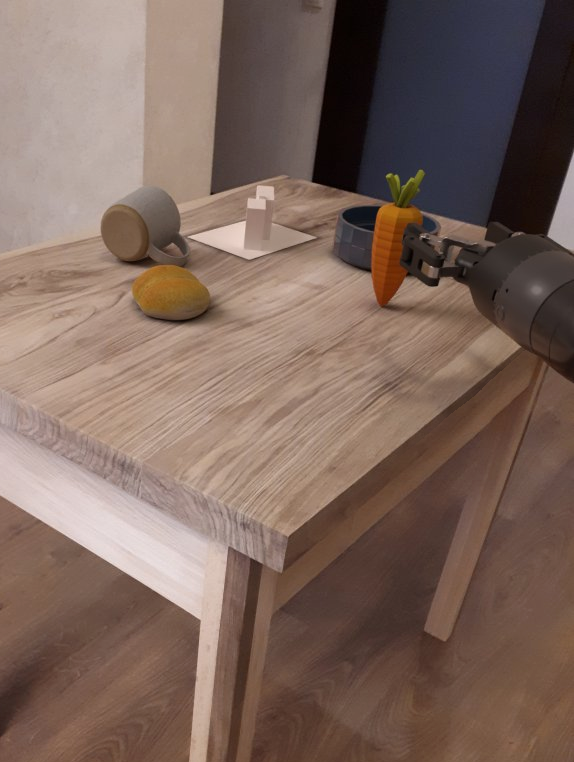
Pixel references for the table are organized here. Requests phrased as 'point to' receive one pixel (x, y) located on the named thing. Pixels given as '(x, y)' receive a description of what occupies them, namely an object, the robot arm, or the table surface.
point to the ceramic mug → (144, 227)
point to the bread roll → (170, 293)
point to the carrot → (393, 237)
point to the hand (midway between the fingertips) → (449, 232)
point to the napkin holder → (254, 230)
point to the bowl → (364, 234)
